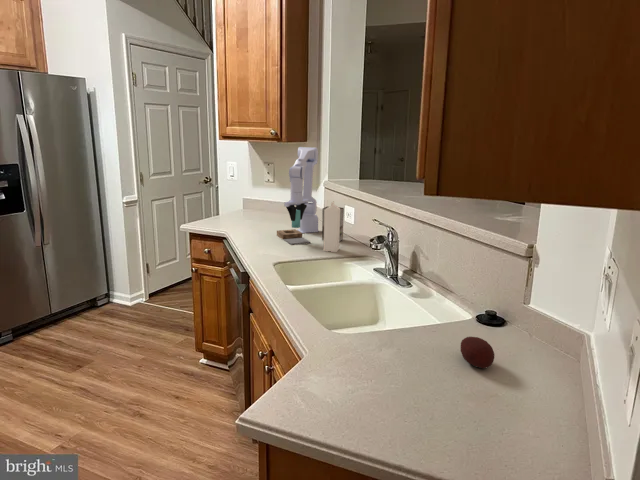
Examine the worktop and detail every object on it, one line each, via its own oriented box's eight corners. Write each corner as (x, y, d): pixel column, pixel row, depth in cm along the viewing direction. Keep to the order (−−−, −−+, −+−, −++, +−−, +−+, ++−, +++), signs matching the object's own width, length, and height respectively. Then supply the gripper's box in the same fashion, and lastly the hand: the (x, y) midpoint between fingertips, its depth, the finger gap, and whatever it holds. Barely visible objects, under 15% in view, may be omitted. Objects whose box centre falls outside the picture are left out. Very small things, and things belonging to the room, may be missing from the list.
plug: (296, 225, 226) (296, 209, 224) (302, 227, 223) (302, 210, 221) (289, 226, 223) (289, 210, 222) (295, 228, 220) (295, 211, 219)
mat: (302, 238, 230) (302, 237, 230) (310, 243, 221) (310, 242, 221) (283, 240, 226) (283, 238, 226) (290, 244, 218) (290, 243, 217)
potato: (471, 375, 104) (474, 350, 103) (451, 354, 114) (453, 331, 113) (501, 372, 106) (504, 348, 104) (479, 352, 115) (481, 329, 114)
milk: (323, 251, 208) (324, 202, 202) (326, 248, 213) (327, 200, 208) (336, 252, 206) (337, 203, 201) (339, 249, 212) (340, 201, 207)
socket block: (295, 234, 240) (295, 229, 240) (302, 238, 231) (302, 233, 231) (276, 235, 236) (276, 230, 236) (283, 239, 227) (283, 234, 227)
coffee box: (343, 239, 230) (344, 207, 226) (338, 242, 225) (339, 209, 221) (326, 237, 234) (327, 205, 230) (321, 240, 228) (322, 207, 224)
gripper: (300, 189, 227) (300, 217, 230) (279, 192, 216) (279, 220, 219) (311, 191, 223) (311, 218, 226) (290, 193, 212) (290, 222, 215)
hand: (296, 220), depth 222 cm, fingers closed on plug, 4 cm apart
